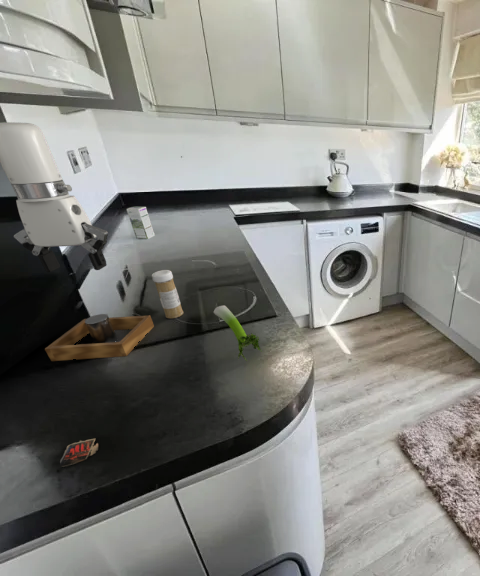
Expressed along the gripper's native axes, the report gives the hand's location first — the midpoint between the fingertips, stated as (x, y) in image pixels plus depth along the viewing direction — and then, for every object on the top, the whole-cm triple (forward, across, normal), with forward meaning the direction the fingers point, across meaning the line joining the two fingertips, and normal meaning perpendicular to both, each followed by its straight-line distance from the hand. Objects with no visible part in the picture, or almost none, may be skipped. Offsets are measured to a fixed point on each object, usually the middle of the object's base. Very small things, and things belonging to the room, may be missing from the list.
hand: (77, 268), depth 73 cm
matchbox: (+20, -14, +34) cm, 42 cm away
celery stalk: (+20, -30, +2) cm, 37 cm away
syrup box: (+20, +35, -91) cm, 99 cm away
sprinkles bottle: (+20, -10, -12) cm, 26 cm away
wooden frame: (+20, 0, 0) cm, 20 cm away
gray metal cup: (+20, 0, 0) cm, 20 cm away
